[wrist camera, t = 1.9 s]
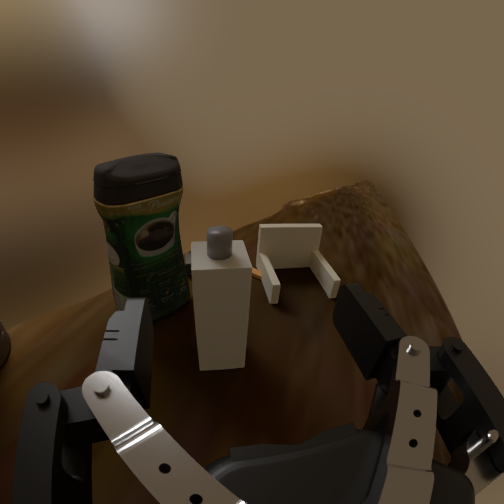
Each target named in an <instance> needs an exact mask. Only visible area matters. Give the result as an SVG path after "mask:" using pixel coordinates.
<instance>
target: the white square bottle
mask: <svg viewBox="0 0 504 504" xmlns="http://www.w3.org/2000/svg"><path fill="white" fill-rule="evenodd" d="M232 237H233V231H232V229H231V228H229V227H226V226H213V227H210V228H208V229H207V241H202V242H191V273H192V289H193V303H194V315H195V327H196V338H197V348H198V357H199V366H200V371H204V370H220V369H233V368H244V367H245V355H246V342H247V329H248V317H249V304H250V291H251V278H252V265H251V263H250V260H249V257H248V254H247V251H246V248H245V245H244V242H243V240H235V241H232Z"/></svg>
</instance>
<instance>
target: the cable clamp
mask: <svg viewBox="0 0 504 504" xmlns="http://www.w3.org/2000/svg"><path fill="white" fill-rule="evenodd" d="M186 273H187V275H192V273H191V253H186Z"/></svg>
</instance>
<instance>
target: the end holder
mask: <svg viewBox="0 0 504 504" xmlns="http://www.w3.org/2000/svg"><path fill="white" fill-rule="evenodd" d="M322 228H323V227H322V226H321V225H320V224H259V236H258V248H257V260H256V267H257V270H259V271H260V273H261V276H262V283H263V286H264V288H265V291H266V294H267V296H268V299H269V302H270V304H277V303H278V299H279V292H280V282H279V280H278V278H277V276H276V274H275V271H274V269H282V268H300V267H310V269H311V270H312V272H313V273H314V275H315V276H316V278H317V280H318V281H319V283H320V284H321V286H322V287H323V289H324V291H325V292H326V294H327V295H328V297H329V298H336V295H337V292H338V288H339V285H340V281H341V280H340V278H339V277H338V276H337V274H336V273H335V272H334V270H333V269H332V268H331V266H330V265H329V264H328V262H327V261H326V260H325V258H324V257H323V256H322V255H321V253H320V252H319V251H318V249H319V244H320V239H321V234H322Z"/></svg>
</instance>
